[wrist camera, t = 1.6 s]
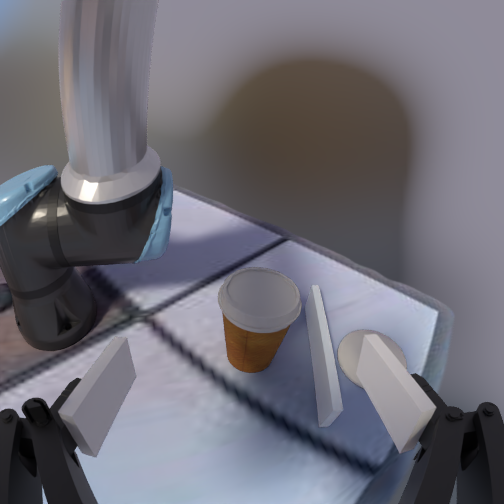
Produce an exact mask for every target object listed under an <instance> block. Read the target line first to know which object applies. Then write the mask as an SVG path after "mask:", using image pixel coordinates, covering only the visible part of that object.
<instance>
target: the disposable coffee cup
mask: <svg viewBox="0 0 504 504" xmlns="http://www.w3.org/2000/svg"><path fill="white" fill-rule="evenodd" d="M218 303H219V305H220V308H221V310H222V312H223V322H224V331H225V340H226V348H227V357H228V360H229V361H230V363H231V364H232V365H233V366H234V367H235V368H236V369H238V370H240V371H244V372H248V373H255V372H259V371H262V370H264V369H265V368H267V367H268V366H269V365H270V363H271V361H272V359H273V357H274V355H275V353H276V352H277V350H278V348H279V346H280V344H281V342H282V340H283V338H284V336H285V335H286V333H287V331H288V329H289V327H290V325H291V324H292V323H293V322H294V321H295V320H296V319H297V317H298V316H299V314H300V312H301V307H302V304H301V299H300V293H299V290H298V288H297V286H296V284H295V283H294V282H293V281H292V280H291V279H290V278H288V277H287V276H286V275H284V274H282V273H280V272H278V271H275V270H272V269H268V268H261V267H249V268H244V269H240V270H237V271H235V272H234V273H232V274H231V275H229V276H228V277H227V278H226V280H225V282H224V284H223V285H222V286H221V288H220V290H219V293H218Z"/></svg>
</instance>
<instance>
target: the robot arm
mask: <svg viewBox="0 0 504 504" xmlns="http://www.w3.org/2000/svg"><path fill="white" fill-rule="evenodd" d="M158 1H159V0H62V1H61V10H60V25H59V81H60V94H61V106H62V115H63V123H64V130H65V137H66V143H67V149H68V154H69V160H70V161H69V162H68V164H67V165H66V167H65V168H64V170H63V172H62V175H61V177H57V175H58V172H57V171H56V168H55V167H54V166H53V165H50V166H48V165H45V166H41V167H38V168H34V169H31V170H29V171H26V172H24V173H22V174H20V175H18V176H16V177H14V178H12V179H10V180H9V181H7V182H5V183H3V184H2V185H1V186H0V267H1V270H2V272H3V275H4V277H5V280H6V282H7V284H8V286H9V289H10V291H11V293H12V299H13V306H14V312H15V318H16V323H17V326H18V329H19V331H20V332H21V334H22V336H23V337H24V339H25V340H26V342H27V343H28V344H30V345H31V346H33V347H34V348H37V349H40V350H46V351H53V350H59V349H63V348H66V347H68V346H70V345H72V344H74V343H75V342H77V341H78V340H80V339H81V338H82V337H83V336H84V335H85V334H86V333H87V332H88V331H89V329H90V328H91V326H92V325H93V323H94V320H95V317H96V313H97V307H96V302H95V299H94V296H93V293H92V291H91V289H90V287H89V286H88V285H87V284H86V282H85V281H84V279H83V278H82V276H81V275H80V273H79V272H78V271H77V269H76V268H75V267H76V266H92V265H109V264H125V263H139V262H140V261H147V260H154V259H158V258H160V257H161V256H162V255H163V254H164V253H165V251H166V249H167V246H168V242H169V237H170V230H171V219H172V215H171V210H172V203H173V180H172V173H171V171H170V170H169V169H168V168H164V167H161V166H160V165H161V164H160V158H159V156H158V154H157V153H156V152H155V151H154V150H153V149H152V148H150V147H149V146H147V109H148V89H149V73H150V62H151V52H152V51H151V50H152V43H153V35H154V27H155V20H156V13H157V7H158ZM356 375H357V377H358V378H359V380H360V382H361V384H362V385H363V387H364V389H365V391H366V392H367V394H368V396H369V398H370V400H371V401H372V403H373V405H374V407H375V409H376V410H377V412H378V414H379V416H380V418H381V420H382V421H383V423H384V425H385V427H386V429H387V431H388V432H389V434H390V436H391V438H392V440H393V442H394V444H395V445H396V447H397V449H398V451H399V453H403V452H406V451H409V450H412V449H414V448H415V446H416V444H417V443H418V441H419V442H420V444H421V445H422V446H421V448H420V450H419V451H418V453H417V454H416V456H415V457H414V459H413V460H416V461H415V464H414V467H413V470H412V472H411V475H410V478H409V480H408V483H407V485H406V487H405V490H404V492H403V495H402V497H401V499H400V501H399V503H398V504H449V502H450V499H451V496H452V492H453V488H454V484H455V480H456V476H457V504H504V424H503V420H502V417H501V414H500V412H499V409H498V407H497V406H496V405H495V404H493V403H490V402H484V403H482V404H480V405H479V407H478V408H477V410H476V411H475V412H467V413H464V412H463V411H462V410H461V409H459V408H457V407H451V406H449V407H447V405H446V404H445V403H444V402H443V400H442V399H441V398H440V397H439V396H438V394H437V393H436V392H435V391H434V390H433V388H432V387H431V386H430V385H429V384H428V383H427V381H426V380H425V379H424V378H423V377H421V376H419V375H418V374H416V373H415V374H411V375H410V374H409V373H408V371H407V370H406V369H405V368H404V366H403V365H402V364H401V363H400V362H399V360H398V359H397V358H396V357H395V356H394V354H393V353H392V352H391V351H390V350H389V348H388V347H387V346H386V345H385V344H384V343H383V341H382V340H381V339H380V338H379V337H378V335H377V334H370V335H364V339H363V344H362V349H361V354H360V359H359V363H358V368H357V372H356ZM135 378H136V373H135V369H134V365H133V361H132V357H131V353H130V349H129V345H128V340H127V338H125V337H114V339H113V340H112V341H111V342H110V344H109V345H108V346H107V347H106V349H105V350H104V351H103V352H102V354H101V355H100V356H99V358H98V359H97V360H96V361H95V363H94V364H93V365H92V367H91V368H90V369H89V370H88V372H87V373H86V374H85V376H84V377H83V378H82V379H80V378H76V379H75V380H73V381H72V382H70V383H69V384H68V386H67V387H66V388H65V391H63V392H62V393H61V395H60V396H59V397H58V398H57V400H56V401H55V402H54V404H53V405H52V406H51V408H50V409H49V407H48V405H47V403H46V402H45V401H44V400H43V399H41V398H32V399H29V400H27V401H26V402H25V403H24V404H23V406H22V411H23V413H24V415H25V416H26V418H20V417H19V416H18V414H17V412H16V411H15V410H13V409H4V410H2V411H1V412H0V504H43V498H42V486H43V489H44V493H45V496H46V499H47V502H48V504H98V503H97V501H96V499H95V497H94V494H93V492H92V490H91V488H90V486H89V484H88V481H87V479H86V477H85V474H84V472H83V469H82V467H81V464H80V462H79V459H78V456H77V454H76V453H75V449H76V447H77V446H78V447H79V449H80V451H81V452H82V453H83V454H86V455H89V456H93V457H97V455H98V452H99V450H100V448H101V446H102V444H103V442H104V440H105V438H106V436H107V434H108V432H109V430H110V427H111V425H112V423H113V421H114V419H115V417H116V415H117V413H118V411H119V409H120V407H121V405H122V403H123V401H124V399H125V398H126V396H127V394H128V392H129V390H130V388H131V386H132V384H133V382H134V380H135Z"/></svg>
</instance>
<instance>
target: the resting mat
mask: <svg viewBox="0 0 504 504" xmlns="http://www.w3.org/2000/svg"><path fill="white" fill-rule="evenodd" d="M370 334H377V335H378V337H379V338H380V339H381V340H382V341H383V343H384V344H385V345H386V346H387V347H388V348H389V350H390V351H391V352H392V353H393V354H394V356H395V357H396V358H397V359H398V360H399V362H400V363H401V364H402V365H403V366H404V368H405V369H407V364H406V359H405V356H404V353H403V352H402V350H401V349H400V347H399V346H398V345H397V344H396V343H395V342H394V341H393V340H392V339H390V338H389V337H387V336H386V335H384V334H382V333H379V332H376V331H372V330H357V331H354V332H351V333H349V334H348V335H346V336H345V337H344V338H343V340H342V341H341V343H340V345H339V347H338V354H337V356H338V362H339V365H340V367H341V369H342V371H343V372H344V374H345V375H346V376H347V377H348V378H349V380H351V381H352V382H353V383H354V384H356V385H357V386H359V387H361V388H364V387H363V385H362V384H361V382H360V380H359V378H358V377H357V375H356V372H357V368H358V363H359V359H360V354H361V349H362V344H363V339H364V335H370Z"/></svg>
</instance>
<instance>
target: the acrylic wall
mask: <svg viewBox="0 0 504 504" xmlns="http://www.w3.org/2000/svg"><path fill="white" fill-rule="evenodd" d="M305 314H306V321H307V328H308V335H309V343H310V350H311V358H312V366H313V375H314V383H315V392H316V402H317V412H318V422H319V427H329V426H330V425H331V423H332V422H333V421H334V420H335V419H336V418H337V417H338V416H339V415H340V413H341V412H342V411H343V405H342V399H341V393H340V387H339V381H338V376H337V370H336V365H335V359H334V354H333V349H332V344H331V339H330V334H329V329H328V325H327V320H326V315H325V311H324V306H323V302H322V297H321V293H320V289H319V286H318V285H312V286H311V289H310V292H309V295H308V298H307V301H306V305H305Z"/></svg>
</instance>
